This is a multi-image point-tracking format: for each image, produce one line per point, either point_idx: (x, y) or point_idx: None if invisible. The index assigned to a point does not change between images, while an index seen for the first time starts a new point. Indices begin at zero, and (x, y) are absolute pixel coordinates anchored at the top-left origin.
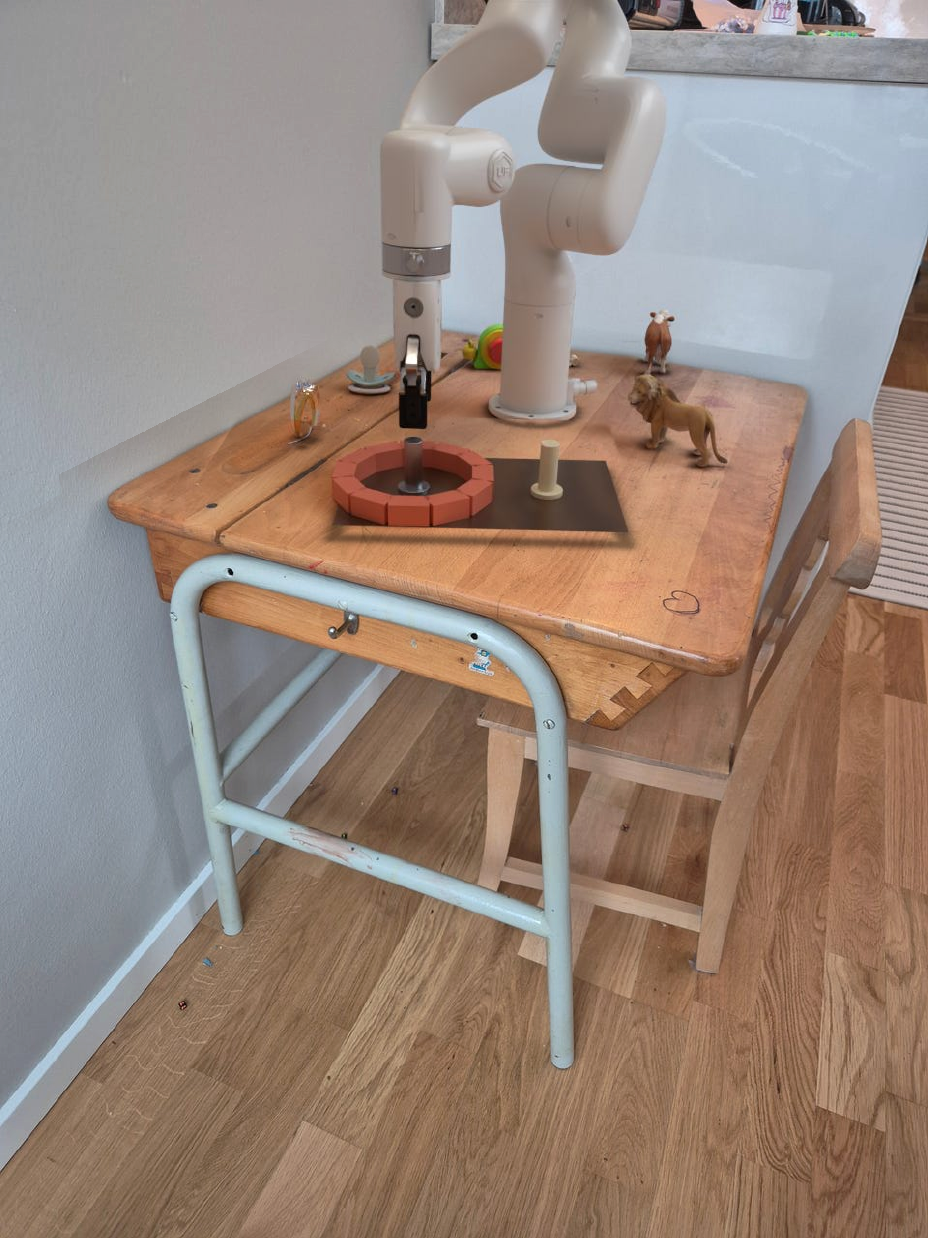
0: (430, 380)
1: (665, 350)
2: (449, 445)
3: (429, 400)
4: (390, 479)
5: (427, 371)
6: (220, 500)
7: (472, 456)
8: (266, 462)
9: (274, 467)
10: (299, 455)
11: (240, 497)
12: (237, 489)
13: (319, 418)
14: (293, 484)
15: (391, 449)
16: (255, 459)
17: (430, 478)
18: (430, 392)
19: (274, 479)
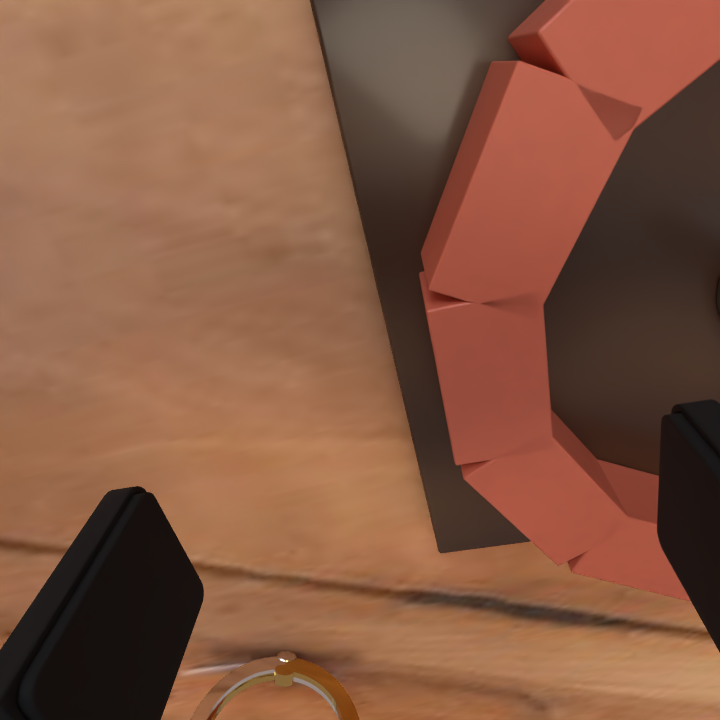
0: (63, 609)
1: None
2: (478, 220)
3: (140, 491)
4: (668, 395)
5: (42, 708)
6: (710, 702)
7: (654, 7)
8: (462, 689)
9: (491, 670)
10: (395, 648)
11: (693, 678)
12: (642, 693)
13: (210, 696)
14: (601, 613)
15: (576, 473)
16: (449, 709)
17: (650, 240)
18: (111, 528)
19: (571, 653)
